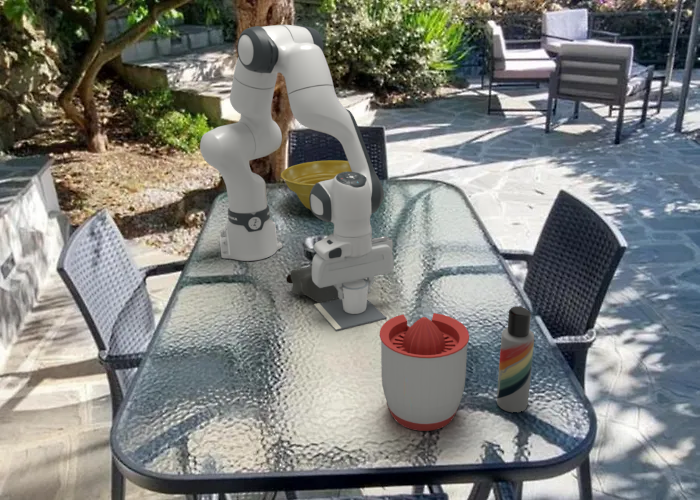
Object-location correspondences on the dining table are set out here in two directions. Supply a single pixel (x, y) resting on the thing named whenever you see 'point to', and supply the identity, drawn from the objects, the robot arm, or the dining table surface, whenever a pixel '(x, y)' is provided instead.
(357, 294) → the shot glass
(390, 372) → the citrus juicer
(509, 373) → the lotion bottle
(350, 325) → the mat
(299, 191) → the planter bowl
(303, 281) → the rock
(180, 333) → the dining table surface
